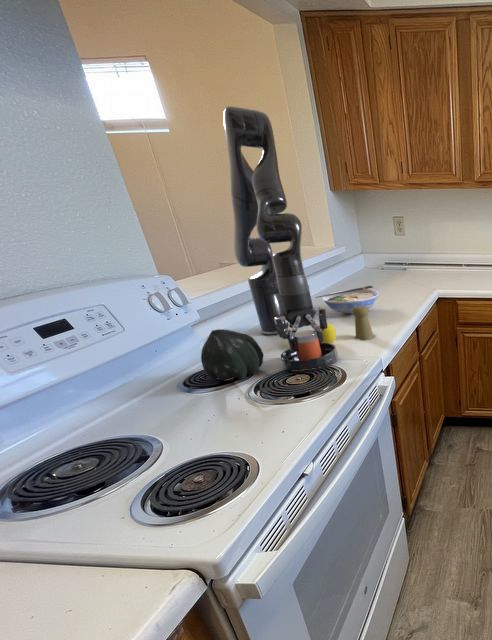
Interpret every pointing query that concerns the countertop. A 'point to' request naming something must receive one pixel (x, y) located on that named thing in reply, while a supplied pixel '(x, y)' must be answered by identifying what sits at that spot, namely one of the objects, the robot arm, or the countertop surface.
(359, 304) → the ramen bowl
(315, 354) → the can
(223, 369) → the squash
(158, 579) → the countertop surface
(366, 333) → the olive flared column
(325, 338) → the lemon
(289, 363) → the pan
